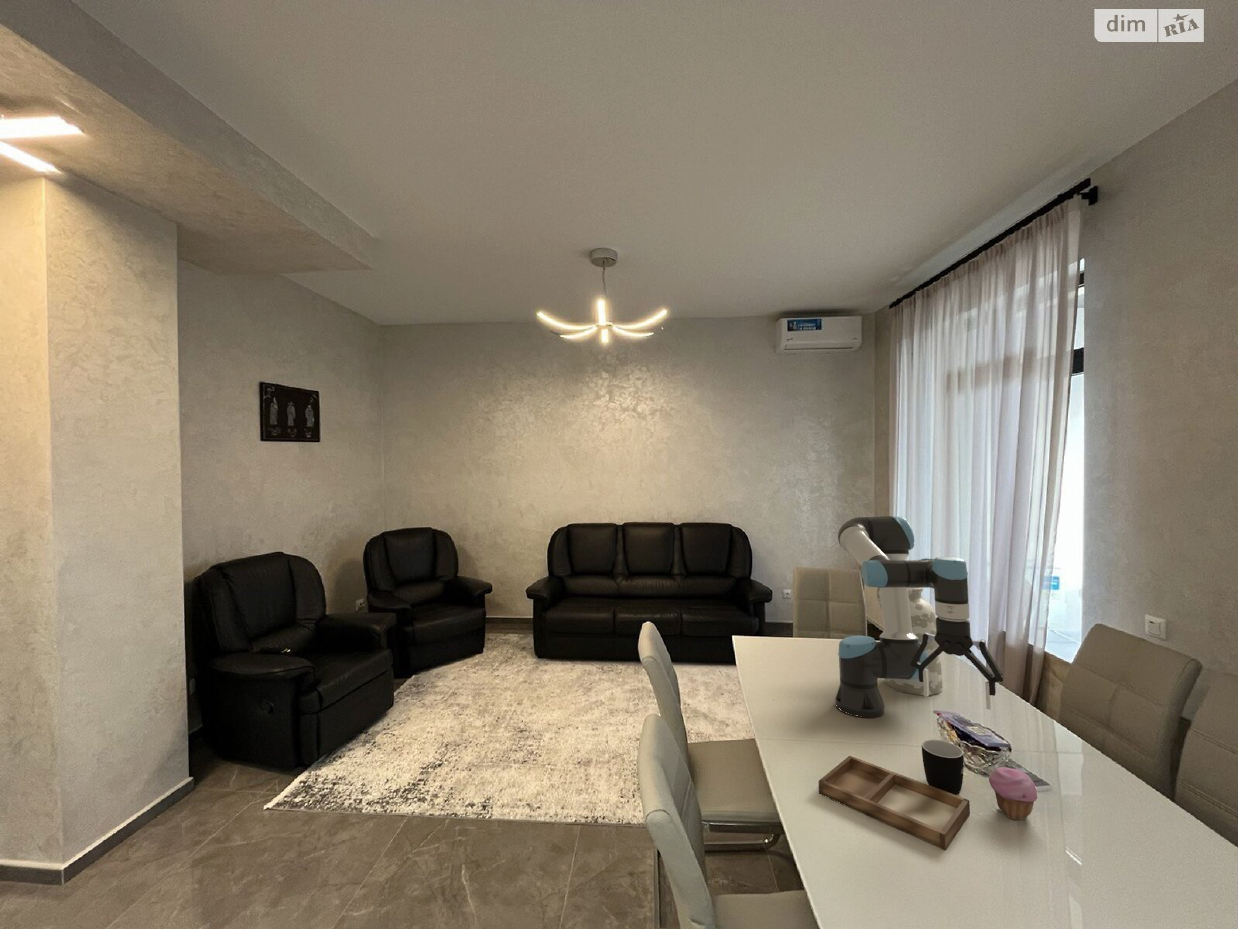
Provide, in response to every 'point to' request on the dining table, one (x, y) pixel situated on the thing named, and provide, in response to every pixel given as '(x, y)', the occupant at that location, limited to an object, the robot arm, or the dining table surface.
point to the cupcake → (1013, 792)
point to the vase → (921, 623)
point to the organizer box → (897, 800)
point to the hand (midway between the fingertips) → (956, 701)
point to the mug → (943, 765)
